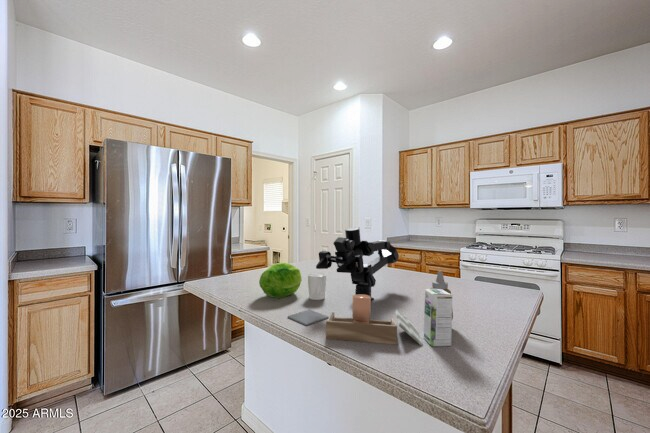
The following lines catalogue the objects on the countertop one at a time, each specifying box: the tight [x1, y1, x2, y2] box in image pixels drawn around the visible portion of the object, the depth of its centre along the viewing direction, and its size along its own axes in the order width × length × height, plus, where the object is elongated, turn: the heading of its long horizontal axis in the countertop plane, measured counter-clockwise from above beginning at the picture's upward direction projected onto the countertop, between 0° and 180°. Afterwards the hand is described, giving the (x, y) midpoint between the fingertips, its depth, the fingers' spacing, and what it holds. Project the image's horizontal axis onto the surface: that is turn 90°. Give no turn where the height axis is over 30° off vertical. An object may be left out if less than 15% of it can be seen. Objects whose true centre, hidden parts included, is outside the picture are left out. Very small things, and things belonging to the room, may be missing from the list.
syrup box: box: [423, 288, 453, 347], centre depth 81 cm, size 6×6×14 cm
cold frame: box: [325, 309, 424, 346], centre depth 87 cm, size 14×27×6 cm, turn 81°
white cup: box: [307, 272, 327, 301], centre depth 121 cm, size 8×8×10 cm
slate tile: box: [287, 309, 330, 327], centre depth 98 cm, size 10×10×1 cm
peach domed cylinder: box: [352, 294, 372, 323], centre depth 86 cm, size 5×5×11 cm
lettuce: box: [259, 262, 302, 299], centre depth 124 cm, size 15×23×16 cm
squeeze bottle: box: [429, 270, 454, 320], centre depth 92 cm, size 8×8×18 cm
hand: (326, 269), depth 100 cm, fingers open, 9 cm apart
